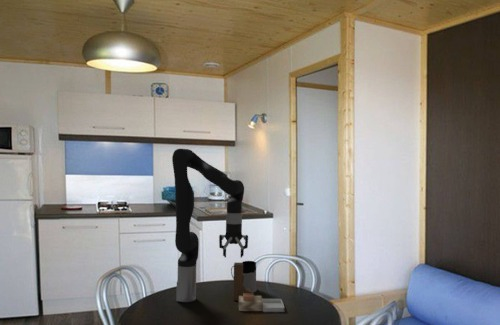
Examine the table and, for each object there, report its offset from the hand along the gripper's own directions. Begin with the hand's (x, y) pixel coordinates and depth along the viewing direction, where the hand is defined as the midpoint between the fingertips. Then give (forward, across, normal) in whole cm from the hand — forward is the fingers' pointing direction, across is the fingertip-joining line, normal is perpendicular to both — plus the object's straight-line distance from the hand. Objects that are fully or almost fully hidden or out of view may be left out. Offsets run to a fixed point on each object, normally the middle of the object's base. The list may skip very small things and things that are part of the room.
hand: (233, 257), depth 182 cm
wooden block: (+24, +5, +11) cm, 27 cm away
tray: (+24, +19, 0) cm, 30 cm away
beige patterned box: (+24, +9, 0) cm, 25 cm away
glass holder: (+24, +6, +25) cm, 35 cm away
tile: (+20, +8, 0) cm, 21 cm away
